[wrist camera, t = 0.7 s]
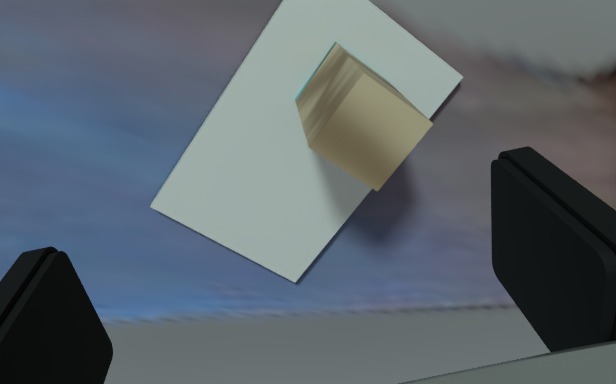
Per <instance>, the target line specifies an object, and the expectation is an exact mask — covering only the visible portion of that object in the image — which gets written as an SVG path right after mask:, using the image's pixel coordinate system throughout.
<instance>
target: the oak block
mask: <svg viewBox="0 0 616 384" xmlns="http://www.w3.org/2000/svg"><path fill="white" fill-rule="evenodd" d="M295 102H296V105H297V109H298V112H299V116H300V119H301V122H302V126H303V129H304V133H305V136H306V140H307V143H308V146H309V148H310V149H312V150H313V151H315V152H316V153H318V154H320V155H321V156H323V157H324V158H326V159H327V160H329V161H330V162H332V163H334V164H335V165H337V166H338V167H340V168H341V169H343V170H344V171H346V172H348V173H349V174H351V175H352V176H354V177H355V178H357V179H359V180H360V181H362V182H363V183H365V184H366V185H368V186H369V187H371V188H373V189H374V190H376V191H377V192H378V190H379V189H380V188H381V187H382V186H383V184H384V183H385V182H386V181H387V180H388V178H389V177H390V176H391V175H392V173H393V172H394V171H395V170H396V169H397V167H398V166H399V165H400V164H401V163H402V161H403V160H404V159H405V158H406V156H407V155H408V154H409V153H410V152H411V150H412V149H413V148H414V147H415V146H416V144H417V143H418V142H419V141H420V139H421V138H422V137H423V136H424V135H425V133H426V132H427V131H428V130H429V129H430V127H431V126H432V125H433V123H432V122H431V121H430V120H429V119H428V118H427V117H426V116H425V115H423V114H422V113H421V112H420V111H419V110H418V109H417V108H416V107H415V106H414V105H413V104H412V103H411V102H410V101H409V100H408V99H407V98H405V97H404V96H403V95H402V94H401V93H400V92H399V91H398V90H397V89H396V88H395V87H394V86H393V85H392V84H391V83H390V82H389V81H387V80H386V79H385V78H383V77H382V76H380V75H379V74H378V73H376V72H375V71H374V70H372V69H371V68H370V67H368V66H367V65H366V64H364V63H363V62H362V61H360V60H359V59H358V58H356V57H355V56H354V55H352V54H351V53H350V52H348V51H347V50H346V49H344V48H343V47H342V46H340V45H339V44H338V43H336V42H335V43H334V44H333V46H332V47H331V49H330V50H329V51H328V53H327V54H326V56H325V57H324V59H323V60H322V61H321V63H320V64H319V66H318V67H317V68H316V70H315V71H314V73H313V74H312V76H311V77H310V78H309V80H308V81H307V83H306V84H305V86H304V87H303V88H302V90H301V91H300V93H299V94H298V95H297V97H296V98H295Z"/></svg>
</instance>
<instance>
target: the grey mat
mask: <svg viewBox="0 0 616 384" xmlns="http://www.w3.org/2000/svg"><path fill="white" fill-rule="evenodd" d="M335 42H336V43H338V44H339V45H340V46H342V47H343V48H344V49H346V50H347V51H348V52H350V53H351V54H352V55H354V56H355V57H356V58H358V59H359V60H360V61H362V62H363V63H364V64H366V65H367V66H368V67H370V68H371V69H372V70H374V71H375V72H376V73H378V74H379V75H380V76H382V77H383V78H385V79H386V80H387V81H389V82H390V83H391V84H392V85H393V86H394V87H395V88H396V89H397V90H398V91H399V92H400V93H401V94H402V95H403V96H404V97H405V98H407V99H408V100H409V101H410V102H411V103H412V104H413V105H414V106H415V107H416V108H417V109H418V110H419V111H420V112H421V113H422V114H423V115H425V116H426V117H427V118H428V119H429V118H430V117H431V116H432V115H433V114H434V112H435V111H436V110H437V109H438V107H439V106H440V105H441V104H442V103H443V101H444V100H445V99H446V98H447V96H448V95H449V94H450V93H451V92H452V90H453V89H454V88H455V87H456V85H457V84H458V83H459V82H460V81H461V79H462V78H463V76H462V75H460V74H459V73H458V72H457V71H456V70H454V69H453V68H452V67H451V66H449V65H448V64H447V63H446V62H444V61H443V60H442V59H441V58H439V57H438V56H437V55H436V54H434V53H433V52H432V51H431V50H429V49H428V48H427V47H426V46H424V45H423V44H422V43H421V42H419V41H418V40H417V39H416V38H415V37H413V36H412V35H411V34H410V33H408V32H407V31H406V30H405V29H403V28H402V27H401V26H400V25H398V24H397V23H396V22H395V21H393V20H392V19H391V18H390V17H388V16H387V15H386V14H385V13H383V12H382V11H381V10H380V9H378V8H377V7H376V6H375V5H373V4H372V3H371V2H370V1H369V0H283V1H282V2H281V4H280V5H279V7H278V9H277V10H276V12H275V13H274V15H273V16H272V18H271V19H270V21H269V22H268V24H267V26H266V27H265V29H264V30H263V32H262V33H261V35H260V36H259V38H258V39H257V41H256V43H255V44H254V46H253V47H252V49H251V50H250V52H249V53H248V55H247V56H246V58H245V60H244V61H243V63H242V64H241V66H240V67H239V69H238V70H237V72H236V73H235V75H234V77H233V78H232V80H231V81H230V83H229V84H228V86H227V87H226V89H225V90H224V92H223V94H222V95H221V97H220V98H219V100H218V101H217V103H216V104H215V106H214V107H213V109H212V111H211V112H210V114H209V115H208V117H207V118H206V120H205V121H204V123H203V124H202V126H201V128H200V129H199V131H198V132H197V134H196V135H195V137H194V138H193V140H192V141H191V143H190V145H189V146H188V148H187V149H186V151H185V152H184V154H183V155H182V157H181V158H180V160H179V162H178V163H177V165H176V166H175V168H174V169H173V171H172V172H171V174H170V175H169V177H168V179H167V180H166V182H165V183H164V185H163V186H162V188H161V189H160V191H159V192H158V194H157V196H156V197H155V199H154V200H153V202H152V204H151V206H150V207H151V208H153V209H155V210H157V211H159V212H161V213H163V214H165V215H166V216H168V217H170V218H172V219H174V220H176V221H178V222H180V223H182V224H184V225H186V226H187V227H189V228H191V229H193V230H195V231H197V232H199V233H201V234H203V235H205V236H207V237H208V238H210V239H212V240H214V241H216V242H218V243H220V244H222V245H224V246H226V247H228V248H229V249H231V250H233V251H235V252H237V253H239V254H241V255H243V256H245V257H247V258H249V259H251V260H252V261H254V262H256V263H258V264H260V265H262V266H264V267H266V268H268V269H270V270H272V271H273V272H275V273H277V274H279V275H281V276H283V277H285V278H287V279H289V280H291V281H293V282H294V283H295V282H296V281H297V280H298V279H299V277H300V276H301V275H302V274H303V272H304V271H305V270H306V269H307V268H308V266H309V265H310V264H311V263H312V261H313V260H314V259H315V258H316V257H317V255H318V254H319V253H320V252H321V250H322V249H323V248H324V247H325V246H326V244H327V243H328V242H329V241H330V239H331V238H332V237H333V236H334V235H335V233H336V232H337V231H338V230H339V228H340V227H341V226H342V225H343V224H344V222H345V221H346V220H347V219H348V217H349V216H350V215H351V214H352V213H353V211H354V210H355V209H356V208H357V206H358V205H359V204H360V203H361V202H362V200H363V199H364V198H365V197H366V195H367V194H368V193H369V192H370V191H371V189H372V188H371V187H369V186H368V185H366V184H365V183H363V182H362V181H360V180H359V179H357V178H355V177H354V176H352V175H351V174H349V173H348V172H346V171H344V170H343V169H341V168H340V167H338V166H337V165H335V164H334V163H332V162H330V161H329V160H327V159H326V158H324V157H323V156H321V155H320V154H318V153H316V152H315V151H313V150H312V149H310V148H309V146H308V143H307V140H306V136H305V133H304V129H303V126H302V122H301V119H300V116H299V112H298V109H297V105H296V102H295V98H296V97H297V95H298V94H299V93H300V91H301V90H302V88H303V87H304V86H305V84H306V83H307V81H308V80H309V78H310V77H311V76H312V74H313V73H314V71H315V70H316V68H317V67H318V66H319V64H320V63H321V61H322V60H323V59H324V57H325V56H326V54H327V53H328V51H329V50H330V49H331V47H332V46H333V44H334V43H335Z"/></svg>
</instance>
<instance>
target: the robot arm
mask: <svg viewBox="0 0 616 384" xmlns="http://www.w3.org/2000/svg"><path fill="white" fill-rule="evenodd" d="M491 220H492V265H493V269H494V272H495V274H496V276H497V278H498V280H499V281H500V282H501V284H502V285H503V287H504V288H505V289H506V291H507V292H508V294H509V295H510V296H511V298H512V299H513V300H514V302H515V303H516V305H517V306H518V307H519V309H520V310H521V312H522V313H523V314H524V316H525V317H526V319H527V320H528V321H529V323H530V324H531V325H532V327H533V328H534V330H535V331H536V332H537V334H538V335H539V336H540V338H541V339H542V341H543V342H544V344H545V345H546V346H547V348H548V349H549V350H550V352H551V353H546V354H541V355H536V356H532V357H526V358H522V359H517V360H512V361H507V362H502V363H497V364H493V365H487V366H482V367H477V368H473V369H468V370H463V371H458V372H453V373H448V374H443V375H438V376H433V377H429V378H424V379H419V380H414V381H409V382H404V383H399V384H616V211H615V210H614V209H613V208H611V207H610V206H609V205H607V204H606V203H605V202H603V201H602V200H601V199H599V198H598V197H597V196H595V195H594V194H593V193H591V192H590V191H589V190H587V189H586V188H585V187H583V186H582V185H581V184H579V183H578V182H577V181H575V180H574V179H573V178H571V177H570V176H568V175H567V174H566V173H564V172H563V171H562V170H560V169H559V168H558V167H556V166H555V165H554V164H552V163H551V162H550V161H548V160H547V159H546V158H544V157H543V156H542V155H540V154H539V153H538V152H536V151H535V150H534V149H532V148H531V147H528V146H527V147H522V148H518V149H513V150H508V151H503V152H501V153H500V154H499V157H498V159H497V160H493V161H492V163H491ZM112 356H113V348H112V343H111V341H110V339H109V337H108V335H107V333H106V331H105V329H104V327H103V325H102V323H101V321H100V319H99V317H98V315H97V313H96V311H95V309H94V307H93V305H92V303H91V301H90V299H89V297H88V295H87V293H86V291H85V289H84V287H83V285H82V283H81V281H80V279H79V277H78V275H77V273H76V271H75V269H74V267H73V265H72V263H71V261H70V259H69V257H68V256H67V254H66V253H65V252H63V251H59V252H58V250H57V249H55V248H54V247H46V248H42V249H37V250H32V251H27V252H23V253H22V254H21V255H20V256H19V257H18V259H17V260H16V261H15V263H14V264H13V265H12V267H11V268H10V269H9V271H8V272H7V273H6V275H5V276H4V277H3V279H2V280H1V281H0V384H104V381H105V378H106V375H107V372H108V369H109V366H110V363H111V361H112Z"/></svg>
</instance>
